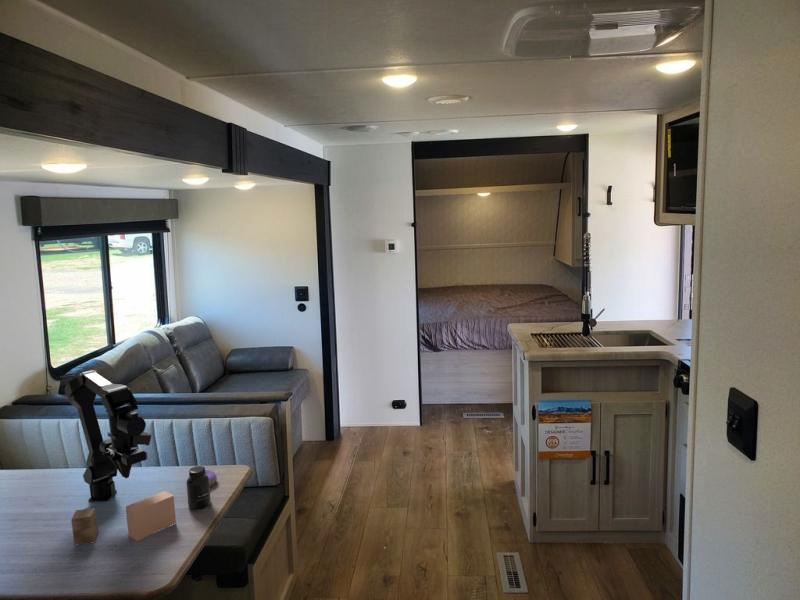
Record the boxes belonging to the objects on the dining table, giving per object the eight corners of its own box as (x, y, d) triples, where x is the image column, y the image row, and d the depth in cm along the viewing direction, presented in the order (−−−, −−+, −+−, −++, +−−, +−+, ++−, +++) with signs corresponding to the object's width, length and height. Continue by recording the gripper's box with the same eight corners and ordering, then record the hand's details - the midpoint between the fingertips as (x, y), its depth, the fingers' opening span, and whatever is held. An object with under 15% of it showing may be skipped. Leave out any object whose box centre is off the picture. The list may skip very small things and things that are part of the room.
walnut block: (74, 545, 173) (71, 519, 172) (79, 536, 178) (76, 510, 177) (93, 542, 174) (90, 516, 173) (98, 533, 179) (95, 507, 178)
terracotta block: (128, 535, 178) (125, 506, 176) (167, 518, 187) (164, 490, 185) (137, 541, 175) (133, 512, 173) (176, 523, 184) (173, 495, 182)
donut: (187, 479, 211) (188, 466, 211) (215, 480, 214) (217, 467, 214) (186, 493, 202) (188, 478, 201) (215, 493, 205) (217, 479, 204)
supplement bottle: (204, 511, 190) (201, 474, 188) (184, 509, 192) (180, 473, 189) (215, 500, 197) (212, 465, 195) (195, 498, 198) (192, 463, 196)
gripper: (161, 427, 185) (166, 476, 188) (131, 414, 197) (136, 460, 200) (125, 439, 177) (130, 490, 179) (96, 424, 189) (101, 472, 192)
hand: (125, 477), depth 188 cm, fingers closed
